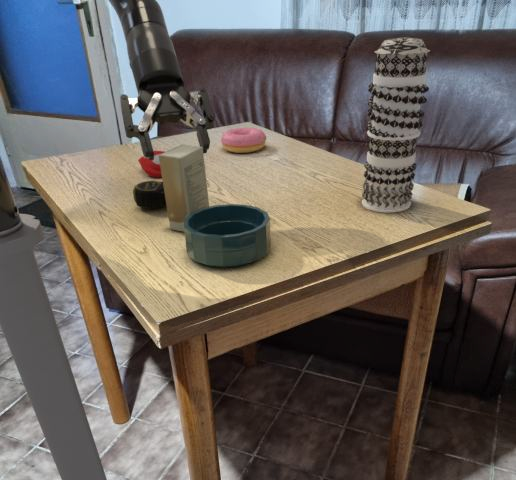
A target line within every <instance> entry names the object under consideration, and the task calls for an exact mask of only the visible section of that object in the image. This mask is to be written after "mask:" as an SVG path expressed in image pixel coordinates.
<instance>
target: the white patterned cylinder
mask: <svg viewBox="0 0 516 480" xmlns="http://www.w3.org/2000/svg"><path fill="white" fill-rule="evenodd" d="M429 52H431V50H430V49H428V48H427V46H426V43H425V41H424V40H423V39H421V38H419V37H393V38H387V39H385V40H383V41H382V43H381V44H380V46H379V47H378V49H377V50H375V51H374V53H375V54H376V55H375V56H376V57H375V66H374V67H375V69H374V73H373V75H372V76H373V77H372V82H371V83H369V85H368V88H367V91H368V92H369V93H370V95H371V96H370V97H369V98H368V99H367V105H368V107H369V108H368V109H367V113H366V115H367V116H368V118H369V121H367V124H366V125H367V126H366V128H367V131H366V135H367V136H368V137H369V142H368V151H367V152H366V161H365V163H364V165H363V167H364V169H365V171H364V174H363V177H364V178H365V180H364V181H363V182H362V188H363V190H362V193H361V197H362V198H363V199H362V200H361V205H362V207H363V208H365V209H367V210H368V211H369V210H370V211H371V212H377V213H385V214H387V213H399V212H404V211H406V210H408V209H410V207H411V206H412V202H411V200H412V198H413V192H412V191H413V190H414V186H415V183H413V181H412V180H414V179H415V176H416V173H415V172H413V171H415V170H416V168H417V163H415V162H416V156H417V152H416V147H417V138H419V137H420V136H421V133H422V132H421V129H420V128H422V127H423V122H422V121H420V119H421V118H422V117H425V112H424V111H423V110H422V109H421V105H424V104H425V103H427V101H428V99H427V98H426V97H425V95H423V94H426V93H428V92H429V90H430V87H429V86H428V85H426V81H427V71H426V69H427V64H428V63H427V62H428V55H429Z"/></svg>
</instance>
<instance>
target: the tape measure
mask: <svg viewBox="0 0 516 480" xmlns="http://www.w3.org/2000/svg"><path fill="white" fill-rule="evenodd" d="M132 193H133V194H132V195H133V201H134V202H135V204H136V206H138V207H140V208H144V209H155V208H161V207H167V205H166V199H165V192H164V186H163V181H159V180H147V181H141V182H139V183H137V184H135V185H134V187H133V190H132Z"/></svg>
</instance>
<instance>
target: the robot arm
mask: <svg viewBox="0 0 516 480" xmlns="http://www.w3.org/2000/svg"><path fill="white" fill-rule="evenodd" d="M108 2H109V3H110V5H111V7H112V8H113V9H114V11H115V13H116V15H117V17H118V20H119V22H120V24H121V25H120V26H121V28H122V32H123V35H124V40H125V43H126V50H127V56H128V63H129V67H130V69H131V72H132V76H133V79H134V83H135V88H136V92H137V97H129V96H128V95H127V94H125V93H123V94H121V95H120V98H119V101H120V110H121V116H122V122H123V127H124V131H125V136H126V138H128V139H132V138H135V139H138V140H139V144H140V147H141V151H142V156H145V157H148V158H149V161H150V160H154V152H153V151H154V148H153V144H152V141H151V137H150V136H151V135H150V132H151V131H152V130H153V127H154V126H155V124H156V123H157V124H159V125H165V124H168V123H171V124H173V123H174V124H176V123H179V122H180V121H181V122H182V123H183V124H184V125H186V126H187V127H191V128H192V129H193V130H194V131H196V138H197V141H198V145H199V147H203V155H205V154H208V150H210V144H211V139H210V136H209V132H208V129H211V130H212V129H213V128H214V126H215V120H216V113H215V110H214V107H213V105H212V102H211V99H210V97H209V94H208V91H207V88H206V87H205V86H200V87H199V88H198V90H195V91H189V90H188V89H187V88H186V86H185V82H184V78H183V75H182V71H181V68H180V65H179V61H178V57H177V54H176V50H175V47H174V43H173V41H172V39H171V37H170V33H169V31H168V26H167V24H166V20H165V16H164V12H163V9H162V7H161V5H160V3H159V2H158V1H157V0H108ZM191 102H193V103H194V104H195V106H196V107H197V108H199V109H200V111H201V114H202V115H201V114H199V113H198V112H197V110H196V109H195V107H194V106H193V105H191V104H190V103H191ZM136 108H138V109H139V110H140V111H142V112H143V115H142V119H141V121H140V123H139V124H138V125H137V124H134V122H133V114H135V112H136ZM5 169H6V168H5V166H4V163H3V160H2V156H0V238H1V237H4V236H8V235H10V234H13V233H15V232H16V231H18V230H19V229H21V228H22V226H23V223H22V220H21V218H20V215H19V214H20V211H19V206H18V203H17V202H16V200H15V197H14V194H13V191H12V188H11V184H10V181H9V177H8V175H7V173H6V170H5Z"/></svg>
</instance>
